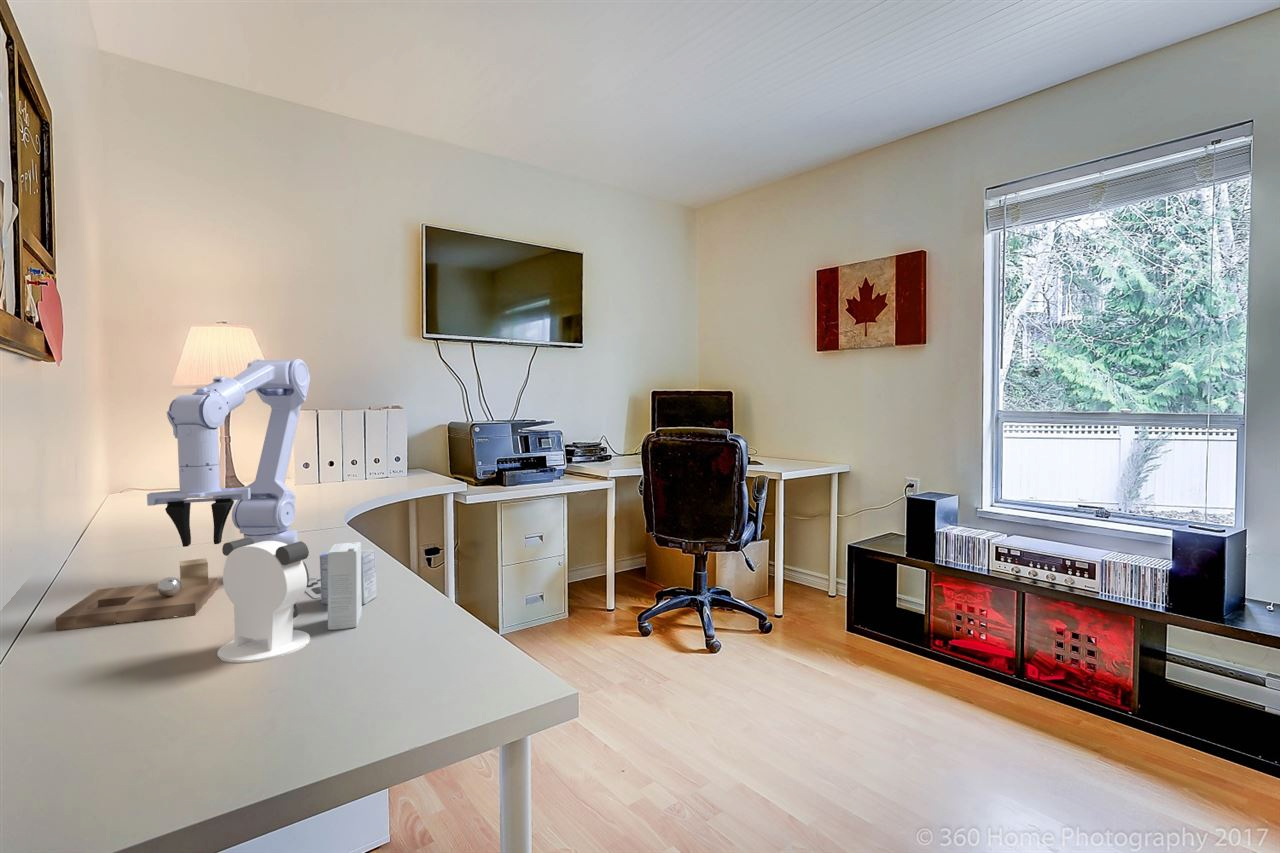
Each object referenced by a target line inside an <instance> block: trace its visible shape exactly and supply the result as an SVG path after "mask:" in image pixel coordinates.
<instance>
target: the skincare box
mask: <svg viewBox="0 0 1280 853" xmlns="http://www.w3.org/2000/svg"><path fill="white" fill-rule="evenodd" d="M361 549H362V542H360V541H357V542H355V541H354V542H344V543H343V542H342V543H335V544H333V545H332V546H331V548H330V549H329V552H328V551H327V552H328V604H327V630H329V631H332V630H333V631H335V630H336V631H337V630H346V629H354V628H357V627H358V624H359V621H360V620H361V617H362V612H363V611H362V610H363V609H362V606H363V604H362V593H361Z"/></svg>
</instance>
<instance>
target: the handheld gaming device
mask: <svg viewBox="0 0 1280 853" xmlns="http://www.w3.org/2000/svg"><path fill="white" fill-rule="evenodd" d="M304 593H306V594H307V595H308V596H310V597H311V598H312V599H314V600H316V599H321V579H320V575H318V576H312V577H311V576H310V577H309V583H308V586H307V587H306V589H305V592H304Z"/></svg>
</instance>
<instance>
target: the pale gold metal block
mask: <svg viewBox="0 0 1280 853" xmlns="http://www.w3.org/2000/svg"><path fill="white" fill-rule="evenodd" d="M179 576H180V579H179V581H180V583H181V589H182V588H188V587H195V586H201V585H208V584H209V582H208V579H209V562H208V559H207V558H206V557H204V558H197V559H196V558H195V559H188V560H181V561H179Z"/></svg>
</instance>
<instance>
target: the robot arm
mask: <svg viewBox="0 0 1280 853" xmlns="http://www.w3.org/2000/svg"><path fill="white" fill-rule="evenodd" d="M309 372H310V371H309V368H308V365H307V364H306V363H305V361H304V360H302V359H300V358H294V359H260V358H259V359H255V360H253V361H250V362H248V363H247V367H246V368H245V369H244V370H243V371H241V372H240V373H239V374H237V375H235V376H234V377H232V378H231V377H226V376H216V377H214V378H212V381H213V382H211V383H210V384H209V383H208V385H206V386H202V387H201V386H200V387H198V388H196V390H195V392H193V393H192V394H181V395H178V396H176V397H175V398H173V400H172V401H171V402H170V403H169V405H168V407H169V408H168V411H166V415H167V416H166V417H167V420H168V422H169V424H170V426H172V427H171V428H172V431H173V436H174V438H175V439H177V458H178V461H177V462H178V476H179V477H178V479H179V480H178V483H179V484H178V485H179V490H172V491H171V490H170V491H161V492H160V491H157V492H150V493H147V494H146V501H147V502H146V504H147V507H149V506H152V507H153V506H157V505H158V506H159V505H166V507H165V512H166V514H167V515H168V516H169V518H170V520H171V521H172V523H173V524H174V526H175V528H176V530H177V533H178V535H179V538H180V540H181V544H182V547H183V548H184V547H185V548H187V547H189V546H190V545H191V544H192V535H191V526H190V525H191V524H190V518H191V515H190V514H191V505H192V503H208V502H213V503H212V504H210V506H211V512H212V513H211V514H212V519H213V545H219V544H221V543H222V538H223V532H224V528H225V526H226V521H227V519H228V517H229V514H230V511H231V520H232V523H233V525H234V527H235V528H237V529H238V530H239V534H240V535H241V534H243V539H244V538H251V539H252V540H253V542H254V544H255V543H258V542H262V541H278V542H282V543H285V544H287V545H289V544H292V543H296V542H299V535H298V530H297V529H290V527H291V526H292V524H293V523H294V521H295V519H296V497H297V496H296V494H295V493H294V491H292V489H291V488H289V487H288V486H287V485H285V482H286V478H287V473H288V470H289V469H288V468H289V465H290V459H291V455H292V451H293V447H294V441H295V437H296V436H295V435H296V432H297V428H298V422H299V417H300V413H301V409H302V405H303V404H304V403H306V400H307V395H308V392H309V387H310V383H311V382H310V381H311V375H310V373H309ZM253 391H255V392H256V394H257V395H258V397H259V398H260V400H261V401H262V403H264V404H266V405H268V406H270V408H271V411H270V415H269V420H268V424H267V428H266V432H265V436H264V440H263V441H264V442H263V445H262V449H261V454H260V458H259V462H258V466H257V470H256V474H255V479H254V481H253V482H251V483H250V484H248V485H247V486H245V487H231V488H230V487H221V478H220V475H221V474H220V452H219V451H220V449H219V448H220V447H219V446H220V445H219V429H218V428H220V427H222V425H224V423H225V420H226V418H227V415H229V413H231V412H232V411H234V410H235V409H237V408H238V407H240V406H241V405H243V404H244V402H245V401H246V397H247V394H249V393H252V392H253ZM208 497H209V498H208ZM235 501H236V502H235Z"/></svg>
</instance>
